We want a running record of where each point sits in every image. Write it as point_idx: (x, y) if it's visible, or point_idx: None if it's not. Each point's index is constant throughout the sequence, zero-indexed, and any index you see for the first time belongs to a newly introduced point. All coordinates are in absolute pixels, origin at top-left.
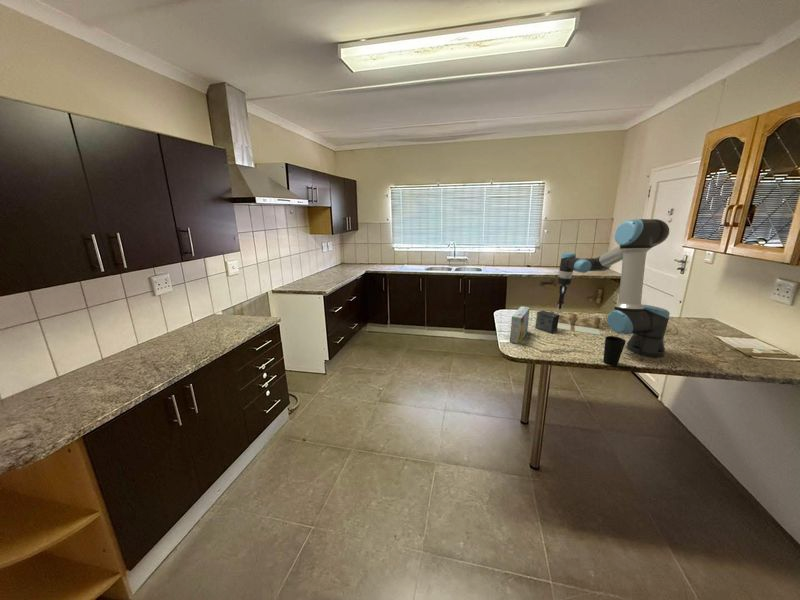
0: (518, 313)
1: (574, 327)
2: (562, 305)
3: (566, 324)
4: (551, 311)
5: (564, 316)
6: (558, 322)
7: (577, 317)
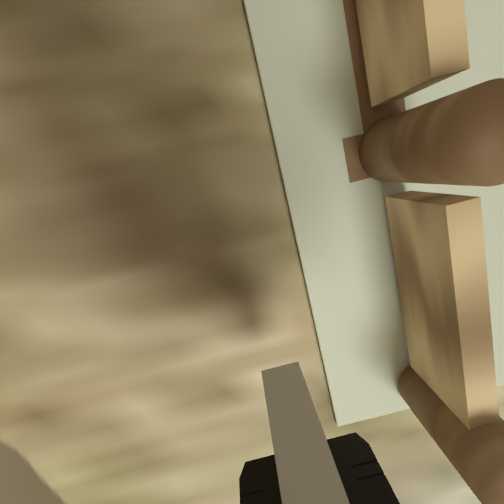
0: None
1: None
2: (343, 494)
3: None
4: (502, 495)
5: (483, 279)
6: None
7: (439, 75)
